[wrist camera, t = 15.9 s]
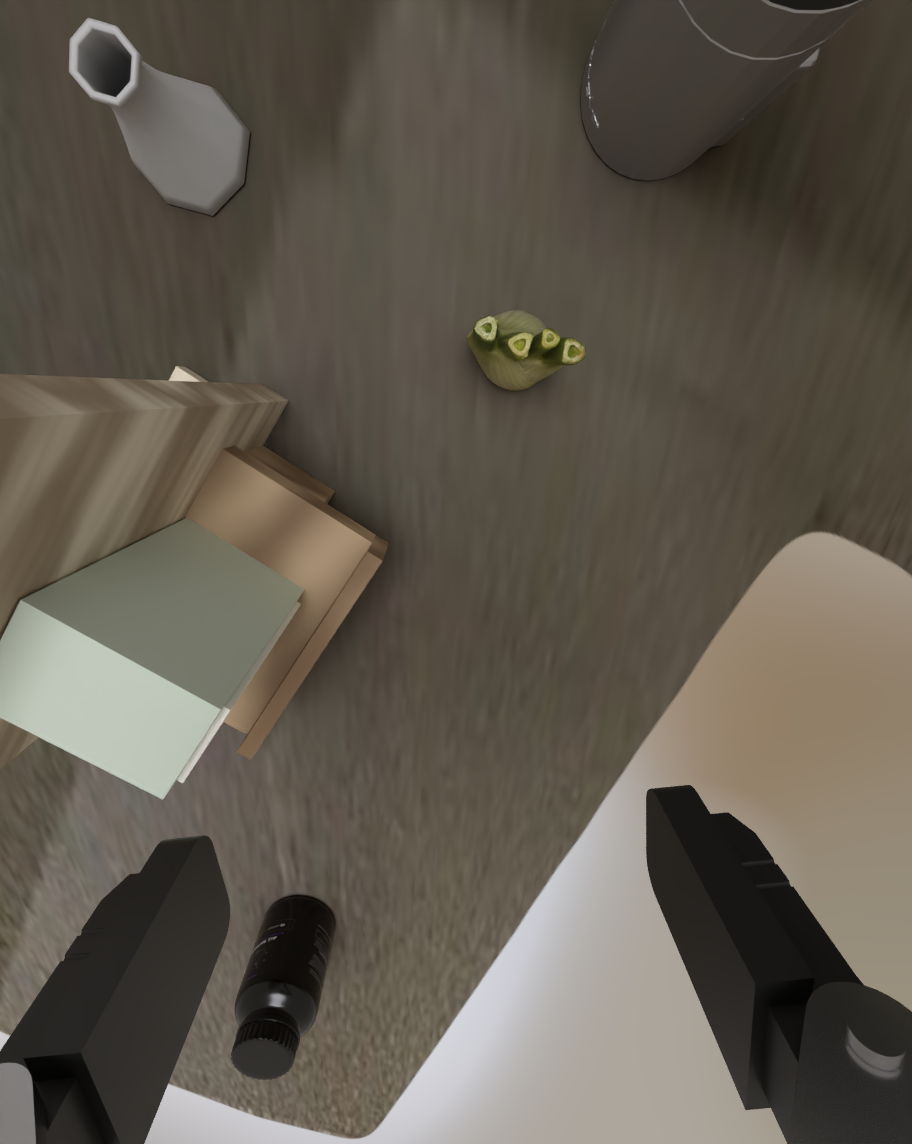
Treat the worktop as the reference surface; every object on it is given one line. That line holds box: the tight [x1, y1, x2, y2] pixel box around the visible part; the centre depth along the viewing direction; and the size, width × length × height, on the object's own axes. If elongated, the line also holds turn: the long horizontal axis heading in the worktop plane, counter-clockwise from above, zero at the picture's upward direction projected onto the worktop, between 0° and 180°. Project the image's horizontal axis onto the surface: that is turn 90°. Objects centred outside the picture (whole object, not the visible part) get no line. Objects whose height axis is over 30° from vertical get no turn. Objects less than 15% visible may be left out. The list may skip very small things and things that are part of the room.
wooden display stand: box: [0, 366, 389, 770], centre depth 29 cm, size 18×22×30 cm
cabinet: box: [0, 518, 305, 799], centre depth 29 cm, size 8×5×14 cm, turn 55°
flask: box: [69, 18, 250, 216], centre depth 31 cm, size 7×7×10 cm
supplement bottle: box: [231, 896, 335, 1080], centre depth 49 cm, size 7×7×12 cm
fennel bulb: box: [467, 310, 586, 391], centre depth 34 cm, size 6×5×12 cm
